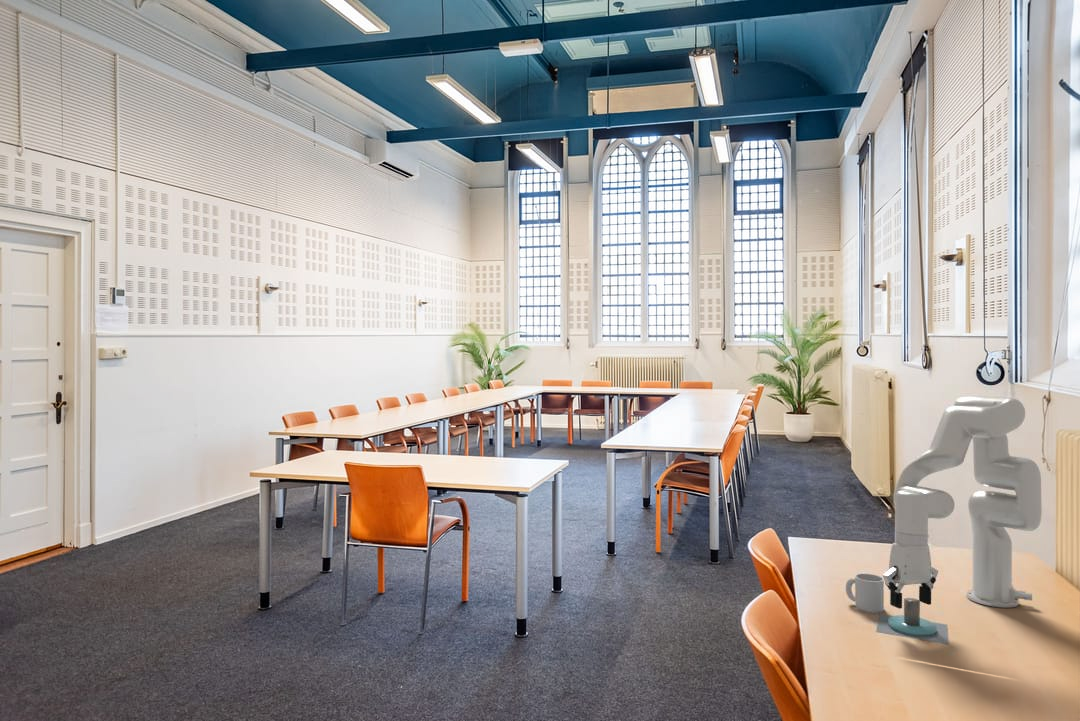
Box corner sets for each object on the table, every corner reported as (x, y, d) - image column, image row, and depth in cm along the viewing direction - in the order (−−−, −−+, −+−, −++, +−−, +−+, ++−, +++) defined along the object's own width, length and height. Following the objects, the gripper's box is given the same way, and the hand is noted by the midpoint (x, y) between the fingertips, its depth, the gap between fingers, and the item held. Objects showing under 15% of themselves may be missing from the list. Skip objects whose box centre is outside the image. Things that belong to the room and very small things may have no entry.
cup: (879, 616, 186) (879, 583, 186) (841, 607, 193) (841, 575, 193) (887, 608, 191) (887, 577, 191) (850, 600, 198) (849, 569, 198)
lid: (936, 624, 179) (935, 597, 179) (936, 639, 169) (936, 611, 169) (889, 617, 184) (888, 590, 184) (887, 631, 174) (887, 603, 174)
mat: (947, 626, 179) (947, 624, 179) (948, 645, 166) (948, 644, 166) (879, 615, 187) (879, 613, 187) (876, 633, 174) (876, 631, 174)
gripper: (924, 533, 183) (923, 597, 183) (873, 537, 177) (873, 603, 177) (949, 540, 176) (948, 606, 175) (896, 544, 170) (896, 613, 170)
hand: (910, 604), depth 176 cm, fingers open, 9 cm apart
